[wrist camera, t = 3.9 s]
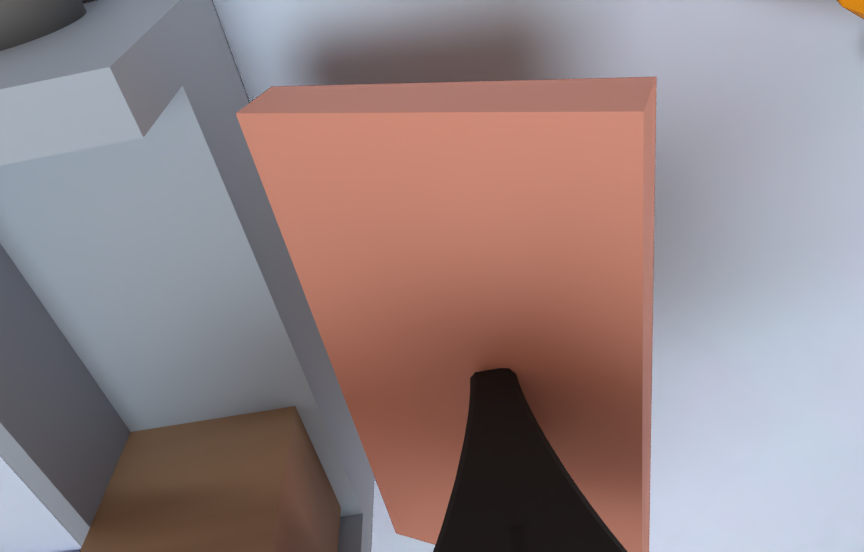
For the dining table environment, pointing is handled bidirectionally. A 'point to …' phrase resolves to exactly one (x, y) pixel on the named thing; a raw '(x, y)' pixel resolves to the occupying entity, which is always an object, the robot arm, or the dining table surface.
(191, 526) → the block
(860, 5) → the corn
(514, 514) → the robot arm
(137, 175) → the grey boxy piece
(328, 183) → the thick rectangular slab
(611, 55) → the dining table surface
